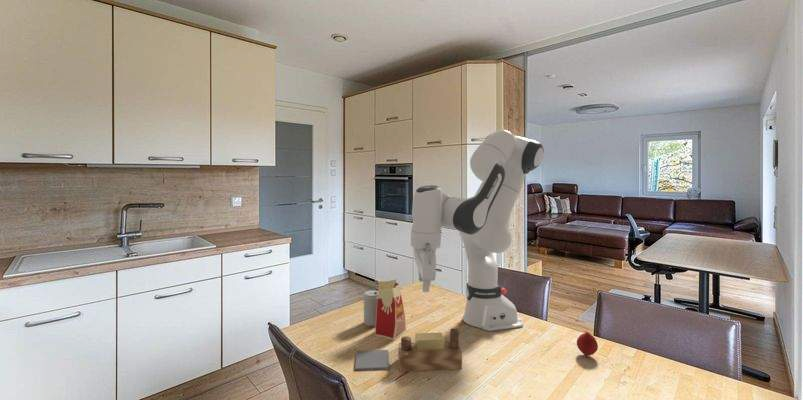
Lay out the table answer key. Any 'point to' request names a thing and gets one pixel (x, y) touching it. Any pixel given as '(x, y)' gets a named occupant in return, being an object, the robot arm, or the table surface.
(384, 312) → the milk carton
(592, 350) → the onion
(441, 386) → the table surface
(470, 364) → the table surface
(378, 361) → the mat
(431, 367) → the plane body
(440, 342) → the wooden block
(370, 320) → the beverage can
